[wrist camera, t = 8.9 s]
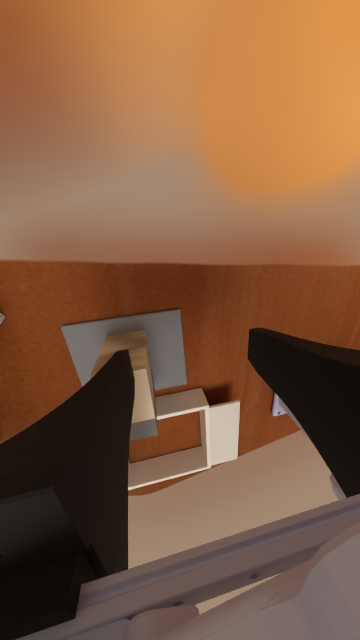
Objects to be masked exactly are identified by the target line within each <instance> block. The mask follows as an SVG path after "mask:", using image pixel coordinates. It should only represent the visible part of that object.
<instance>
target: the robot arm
mask: <svg viewBox="0 0 360 640" xmlns="http://www.w3.org/2000/svg"><path fill="white" fill-rule="evenodd" d="M248 359H249V361H250V363H251V364H252V366H253V367H254V369H255V370H256V372H257V373H258V374H259V375H260V376H261V377H262V379H263V380H264V381H265V382H266V383H267V384H268V385H269V386H270V388H271V389H272V390H273V391H274V392H275V393H274V400H273V408H272V414H273V416H278V415H282V414H286V413H287V414H288V415H289V417H290V418H291V419H292V420H293V421H294V422H295V423H296V425H297V426H298V427H299V428H300V429H301V430H302V432H303V433H304V434H305V435H306V436H307V437H308V438H309V439H310V440H311V442H312V443H313V444H314V445H315V447H316V449H317V450H318V452H319V453H320V455H321V456H322V458H323V459H324V461H325V463H326V465H327V467H328V468H329V469H330V471H331V472H332V474H331V475H330V480H331V483H332V488H333V490H334V492H335V494H336V496H337V498H338V499H339V501H336V502H333V503H330V504H327V505H324V506H321V507H318V508H314V509H312V510H308V511H305V512H302V513H299V514H296V515H293V516H290V517H287V518H284V519H281V520H278V521H275V522H272V523H268V524H265V525H262V526H259V527H256V528H253V529H250V530H247V531H244V532H241V533H238V534H235V535H232V536H229V537H226V538H222V539H219V540H216V541H213V542H210V543H207V544H204V545H201V546H198V547H195V548H192V549H189V550H186V551H183V552H179V553H176V554H173V555H170V556H167V557H164V558H161V559H158V560H155V561H152V562H149V563H146V564H143V565H140V566H137V567H134V568H130V569H128V465H129V441H130V431H131V423H132V415H133V407H134V399H135V378H134V373H133V369H132V364H131V360H130V355H129V351H128V349H126V350H120V351H116V352H115V353H114V355H113V356H112V357H111V358H110V359H109V360H108V361H107V362H106V364H105V365H104V366H103V367H102V368H101V369H100V370H99V371H98V372H97V373H96V374H95V375H94V376H93V377H92V378H91V379H90V380H89V381H88V382H87V383H86V384H85V385H84V386H83V387H82V388H81V389H80V390H78V391H77V392H76V393H75V394H74V395H72V396H71V397H70V398H69V399H68V400H66V401H65V402H64V403H62V404H61V405H60V406H58V407H57V408H56V409H54V410H53V411H51V412H50V413H49V414H47V415H46V416H44V417H43V418H42V419H40V420H39V421H37V422H36V423H34V424H33V425H31V426H30V427H28V428H27V429H25V430H23V431H22V432H20V433H19V434H17V435H15V436H14V437H12V438H10V439H9V440H7V441H5V442H4V443H2V444H0V640H360V350H354V349H347V348H341V347H336V346H331V345H326V344H321V343H317V342H313V341H309V340H305V339H301V338H297V337H293V336H290V335H286V334H283V333H279V332H276V331H272V330H268V329H264V328H254V329H249V344H248ZM282 572H283V573H282ZM279 573H281V574H279ZM276 574H279V575H277V576H275V577H273V578H271V579H269V580H267V581H265V582H264V583H262V584H260V585H257V586H256V587H254V588H252V589H250V590H248V591H246V592H244V593H242V594H240V595H238V596H236V597H234V598H232V599H230V600H228V601H226V602H224V603H222V604H221V605H218V606H216V607H214V608H212V609H211V610H209V611H207V612H205V613H203V614H201V615H199V610H198V608H197V607H196V606H195V604H198V603H201V602H203V601H206V600H209V599H212V598H214V597H217V596H219V595H222V594H225V593H228V592H231V591H233V590H236V589H239V588H241V587H244V586H246V585H249V584H252V583H255V582H257V581H260V580H263V579H265V578H268V577H271V576H274V575H276Z"/></svg>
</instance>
